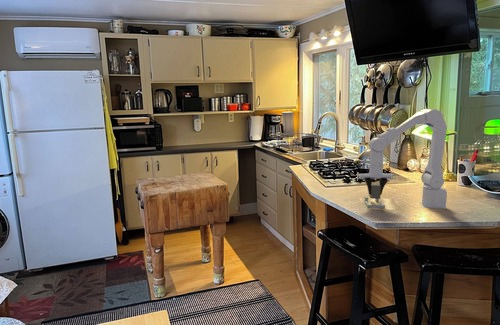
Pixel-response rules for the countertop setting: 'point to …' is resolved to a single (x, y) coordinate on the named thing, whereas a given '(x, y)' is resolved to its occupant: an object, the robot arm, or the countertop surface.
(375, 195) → the plug
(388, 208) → the board
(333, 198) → the countertop surface
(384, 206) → the holder
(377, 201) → the clip
